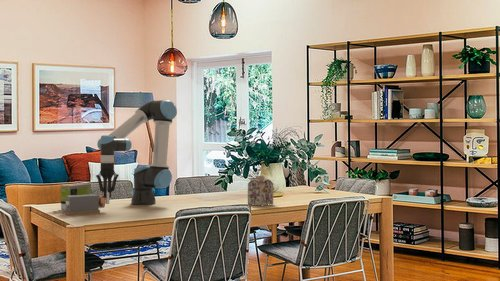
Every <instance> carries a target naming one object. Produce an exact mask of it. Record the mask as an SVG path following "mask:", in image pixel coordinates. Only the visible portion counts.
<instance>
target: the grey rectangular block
mask: <svg viewBox="0 0 500 281" xmlns="http://www.w3.org/2000/svg"><path fill="white" fill-rule="evenodd" d="M98 196H99V209H101V208H102V209H103V208H105V206H106V204H105V197H104V194H103V195H101V194H99V195H98ZM66 206H69V201H66Z"/></svg>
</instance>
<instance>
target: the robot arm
mask: <svg viewBox="0 0 500 281" xmlns="http://www.w3.org/2000/svg"><path fill="white" fill-rule="evenodd" d="M134 112H135V113H134V114H133V115H132V116H131V117H129V118H128V119H127V120H125V121H124V122H123V123H122V124H120V125H119V126H118V127H117V128H115V129H114V130H113V131H112V132H110V134H107V135H101V136H100V138H99V139H98V140H97V148H98V149H99V150H100V162H101V163H100V171H99V173H98V174H96V175H95V178H96V179H97V180H98V181H97V183H98V186H99V190H100V192H102V193H103V196H104V197H105V205H110V199H111V198H112V192H115V188H116V183H117V179H118V177H119V174H117V173H116V172H115V153H116V152H129V151H130V150H131V149H132V141H131V140H130V139H129V138H127V137H128V136H129V135H130V134H131V133H132V132H134V131H135V130H136V129H138V128H139V127H140V126H141V125H143V124H146V123H148V122H149V121H151V120H152V122H153V123H154V125H155V128H154V140H153V152H152V155H153V156H152V163H151V164H150V165H148V166H139V167H135V168H134V170H133V194H132V196H131V200H130V201H131V202H130V204H131V205H135V206H136V205H138V206H140V205H141V206H143V205H144V206H145V205H146V206H147V205H155V204H156V203H157V202H156V200H157V199H156V197H155V194H154V189H160V190H161V189H165V188H168V187H169V185H171V183H172V180H173V174H172V172H171V171H170V170H169V169H170V167H169V165H168V164H167V163H168V162H167V161H168V149H169V148H168V147H169V137H170V126H171V125H172V124H173V119H175V118H176V117H177V114H178V110H177V106H176V104H175V103H174V102H173V101H171V100H166V99H163V100H149V101H148V102H145V103H144V104H143V105H141V106H140V107H139V108H138V109H137V110H135V111H134ZM101 177H102V178H101ZM102 180H103V182H102Z"/></svg>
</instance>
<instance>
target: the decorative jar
mask: <svg viewBox="0 0 500 281" xmlns="http://www.w3.org/2000/svg"><path fill="white" fill-rule="evenodd" d="M248 204H254V205H267V206H269V205H268V204H273V205H274V183H273V182H272V180H271V179H269V178H265V175H257V176H256V178H251V179H250V180H249V181H248V183H247V205H248ZM254 205H253V206H254Z"/></svg>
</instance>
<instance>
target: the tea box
mask: <svg viewBox="0 0 500 281" xmlns="http://www.w3.org/2000/svg"><path fill="white" fill-rule="evenodd" d="M88 194H92V184H91V183H83V182H82V183H81V182H78V183H69V184H61V185H60V209H61V211H64V210H66V196H70V195H88Z"/></svg>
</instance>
